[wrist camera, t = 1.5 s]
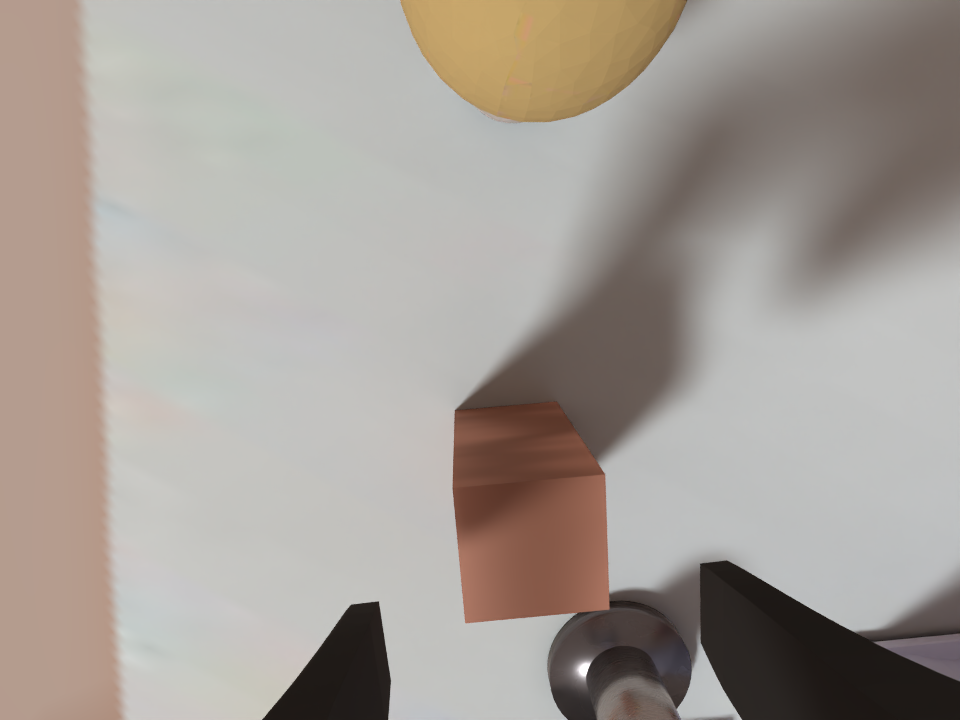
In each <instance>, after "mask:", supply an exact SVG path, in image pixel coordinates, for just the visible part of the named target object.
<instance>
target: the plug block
mask: <svg viewBox="0 0 960 720" xmlns="http://www.w3.org/2000/svg"><path fill="white" fill-rule="evenodd" d="M453 497H454V508H455V519H456V529H457V540H458V550H459V561H460V572H461V582H462V593H463V604H464V614H465V623H473V622H484V621H494V620H505V619H515V618H526V617H536V616H547V615H557V614H568V613H579V612H589V611H600V610H610V609H609V578H608V547H607V517H606V486H605V473H604V472H603V470H602V469H601V467H600V466H599V464H598V463H597V461H596V460H595V458H594V457H593V455H592V454H591V452H590V451H589V449H588V448H587V446H586V445H585V443H584V442H583V440H582V439H581V437H580V436H579V434H578V433H577V431H576V430H575V428H574V427H573V425H572V424H571V422H570V421H569V419H568V418H567V416H566V415H565V413H564V412H563V410H562V409H561V407H560V406H559V404H558V403H557V402H546V403H535V404H523V405H511V406H500V407H488V408H476V409H465V410H455V421H454V457H453Z"/></svg>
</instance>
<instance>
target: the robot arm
mask: <svg viewBox="0 0 960 720" xmlns="http://www.w3.org/2000/svg"><path fill="white" fill-rule="evenodd" d="M700 598H701V644H702V646H703V649H704V651H705V653H706V655H707V657H708V659H709V661H710V664H711V666H712V668H713V670H714V672H715V674H716V676H717V678H718V680H719V682H720V684H721V686H722V688H723V690H724V691H725V693H726V695H727V696H728V698H729V699H730V701H731V703H732V704H733V706H734V707H735V709H736V711H737V712H738V714H739V715H740V717H741V719H742V720H960V634H950V635H940V636H930V637H919V638H909V639H899V640H889V641H878V642H872V641H870V640H868V639H866V638H864V637H862V636H860V635H858V634H856V633H854V632H852V631H851V630H849V629H847V628H845V627H843V626H841V625H839V624H837V623H835V622H834V621H832V620H830V619H828V618H826V617H824V616H823V615H821V614H819V613H817V612H816V611H814V610H812V609H810V608H809V607H807V606H805V605H803V604H802V603H800V602H798V601H796V600H795V599H793V598H791V597H790V596H788V595H786V594H784V593H783V592H781V591H779V590H778V589H776V588H774V587H773V586H771V585H769V584H768V583H766V582H764V581H762V580H761V579H759V578H757V577H756V576H754V575H752V574H751V573H749V572H747V571H745V570H744V569H742V568H740V567H738V566H736V565H735V564H733V563H731V562H729V561H719V562H710V563H702V564H700ZM390 685H391V679H390V672H389V666H388V659H387V652H386V646H385V639H384V633H383V626H382V620H381V613H380V606H379V602H370V603H362V604H353V605H350V607H349V608H348V609H347V610H346V612H345V613H344V614H343V616H342V617H341V619H340V620H339V621H338V623H337V624H336V626H335V627H334V629H333V630H332V631H331V633H330V634H329V636H328V637H327V638H326V640H325V641H324V643H323V644H322V645H321V647H320V648H319V649H318V651H317V652H316V653H315V655H314V656H313V657H312V659H311V660H310V661H309V663H308V664H307V665H306V667H305V668H304V669H303V671H302V672H301V673H300V675H299V676H298V677H297V678H296V680H295V681H294V682H293V683H292V685H291V686H290V687H289V688H288V690H287V691H286V692H285V693H284V694H283V696H282V697H281V698H280V699H279V700H278V702H277V703H276V704H275V705H274V706H273V707H272V709H271V710H270V711H269V712H268V713H267V715H266V716H265V717H264V718H263V719H262V720H388V714H389V700H390Z"/></svg>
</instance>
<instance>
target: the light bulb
mask: <svg viewBox="0 0 960 720" xmlns="http://www.w3.org/2000/svg"><path fill="white" fill-rule="evenodd" d="M400 1H401V5H402V8H403V11H404V13H405V16H406V19H407V21H408V24H409V26H410V29H411V32H412V34H413V37H414V39H415V41H416V42H417V44H418V46H419V48H420V50H421V52H422V54H423V56H424V57H425V58H426V60H427V61H428V62H429V64H430V65H431V66H432V68H433V69H434V70H435V72H436V73H437V74H438V76H439V77H440V78H441V79H442V80H443V81H444V82H445V83H446V84H447V85H448V86H449V87H450V88H452V89H453V90H454V91H455V92H456V93H457V94H458V95H459V96H460V97H462V98H463V99H464V100H466V101H468V102H469V103H471V104H472V105H474V106H475V107H476V108H477V109H478V110H479V111H480V112H482V113H483V114H484V115H486V116H487V117H489V118H491V119H493V120H496V121H500V122H505V123H521V122H551V121H556V120H560V119H565V118H570V117H575V116H577V115H580V114H582V113H584V112H587V111H589V110H592V109H594V108H596V107H597V106H599V105H601V104H603V103H604V102H606V101H608V100H610V99H611V98H612V97H614V96H615V95H616V94H618V93H619V92H620V91H622V90H623V89H624V88H626V87H627V86H628V85H629V84H630V83H631V82H633V81H634V80H635V79H636V78H637V77H638V76H639V75H640V74H641V73H642V72H643V71H644V70H645V69H646V67H647V66H648V65H649V64H650V62H651V61H652V60H653V59H654V57H655V56H656V55H657V54H658V52H659V51H660V49H661V48H662V46H663V45H664V43H665V42H666V40H667V39H668V37H669V36H670V34H671V33H672V32H673V30H674V28H675V26H676V24H677V22H678V20H679V18H680V15H681V13H682V11H683V9H684V7H685V4H686V2H687V0H400Z"/></svg>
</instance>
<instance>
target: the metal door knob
mask: <svg viewBox="0 0 960 720" xmlns="http://www.w3.org/2000/svg"><path fill="white" fill-rule="evenodd" d="M609 609H610V610H600V611H589V612H581V613H579V614H577V615H576V616H575V617H573V618H572V619H571V620H570V621H569V622H567V623H566V624H565V625H564V627H563V628H562V629H561V630H560V631H559V633H558V634H557V636H556V637H555V639H554V641H553V643H552V645H551V648H550V652H549V656H548V667H547V669H548V677H549V681H550V686H551V691H552V694H553V698H554V700H555V703H556V705H557V707H558V708H559V710H560V711H561V713H562V714H563V715H564V716H565V717H566V718H567V719H568V720H681V718H680V716H679V714H678V712H677V710H676V709H677V708H678V706H679V705H680V703H681V702H682V701H683V699H684V697H685V695H686V693H687V690H688V688H689V684H690V680H691V671H692V669H691V660H690V656H689V653H688V650H687V648H686V646H685V644H684V642H683V640H682V639H681V637H680V635H679V634H678V632H677V630H676V629H675V627H674V626H673V624H672V623H671V622H670V621H669V620H668V619H667V618H666V617H665V616H664V615H663V614H661V613H660V612H658V611H657V610H655V609H653V608H651V607H649V606H646V605H643V604H639V603H635V602H627V601H615V602H609Z"/></svg>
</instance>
